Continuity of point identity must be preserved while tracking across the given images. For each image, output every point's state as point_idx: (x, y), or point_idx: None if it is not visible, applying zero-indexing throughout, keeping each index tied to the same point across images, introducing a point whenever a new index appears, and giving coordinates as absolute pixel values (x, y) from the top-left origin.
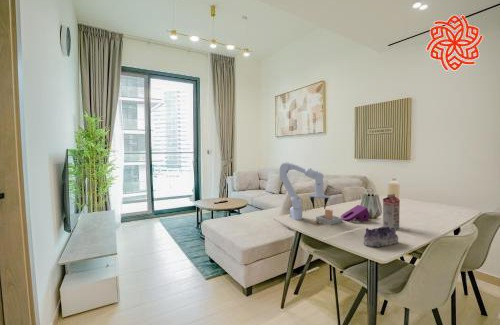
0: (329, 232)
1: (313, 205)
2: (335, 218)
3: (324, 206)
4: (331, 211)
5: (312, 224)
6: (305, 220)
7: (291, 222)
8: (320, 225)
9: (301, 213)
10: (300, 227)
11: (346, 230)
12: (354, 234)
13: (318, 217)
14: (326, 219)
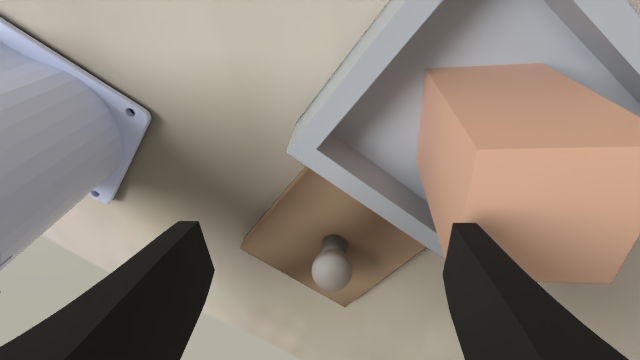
0: (436, 349)
1: (180, 334)
2: (611, 60)
3: (464, 337)
4: (582, 276)
5: (289, 275)
6: (166, 127)
7: (80, 225)
8: (366, 284)
9: (65, 198)
10: (212, 308)
11: (596, 301)
12: (627, 352)
13: (327, 178)
14: (438, 242)
